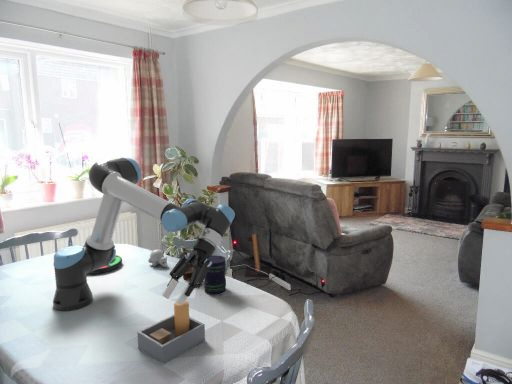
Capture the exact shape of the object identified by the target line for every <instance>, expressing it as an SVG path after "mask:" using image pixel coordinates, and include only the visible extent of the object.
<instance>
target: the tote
mask: <svg viewBox="0 0 512 384" xmlns="http://www.w3.org/2000/svg"><path fill="white" fill-rule="evenodd" d="M189 325H190V331H188V332H186V333H184V334H182V335H180V336H178V337H177V338H175V317H174V314H173V315H171V316H168V317H166V318H164V319H162V320H160V321H158V322H156V323H154V324H151V325H149V326H146V327H145V328H143V329H141V330H138V331H136V332H137V345H138V346H137V347H138V349H139V350H140V351H142V352H143V353H144V354H146V355H148V356H150V357H151V358H152V359H154V360H156V361H157V362H158V363H160V364H162V365H165V364H166V363H168V362H170V361H171V360H173V359H175V358H177V357H178V356H180V355H182V354H184V353H185V352H187V351H189V350H190V349H192V348H194V347H196V346H197V345H199V344H201V343H203V342H205V341H206V334H205V333H206V331H205V330H206V329H205V328H206V327H205V324H204V323H202V322H200V321H198V320H196V319H194V318H193V317H190V316H189ZM161 328H163V329H165V330H166V331H168V332H170V333H171V335H172V340H171V341H169V342H167V343H165V344H163V345H162V344H161V343H159V342H157V341H156V340H154V339H152V338H150V334H151V333H153V332H155V331H157V330H159V329H161Z"/></svg>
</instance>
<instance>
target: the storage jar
mask: <svg viewBox="0 0 512 384" xmlns="http://www.w3.org/2000/svg"><path fill="white" fill-rule="evenodd" d="M209 260H210V261H211V262H212V263H213V265H212V266H211V268H210V269H209V271H208V273H207V275H206V277H205V279H204V281H203V284H204V285H203V286H204V293H206V294H207V295H210V296H220V295H222V294H224V293H225V292H226V291H227V289H226V287H227V277H226V266H227V264H226V257H224V256H222V255H216V254H215V255H212V256H211V257H209Z"/></svg>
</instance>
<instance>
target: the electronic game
mask: <svg viewBox="0 0 512 384" xmlns="http://www.w3.org/2000/svg"><path fill="white" fill-rule="evenodd" d="M122 263H123V258H122V257H121V256H120V255H117V254H116V255H115V258H114V260H113V261H112V262H111V263H109V264H108V265H106V266H104V267H101V268H99V269H97V270H94V271H92V272H89V273H87V274H90V275H91V274H92V275H93V274H94V275H95V274H102V273H106V272H110V271H112V270H114V269H117V267H119V266H120V265H121V264H122Z"/></svg>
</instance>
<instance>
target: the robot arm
mask: <svg viewBox="0 0 512 384" xmlns="http://www.w3.org/2000/svg"><path fill="white" fill-rule="evenodd" d="M141 179H142V169H141V167H140V165H139V163H138V162H137V160H135V159H133V158H131V157H120V158H119V157H118V158H110V159H101V160H100V159H99V160H98V161H97V162H94V163H93V164H92V165H91V167H90V170H89V171H88V180H89V183H90V184H91V186H92V187H93V188H94V189H95V190H97V191H98V192H99V193H100V194H103V195H102V199H101V202H100V206H99V209H98V212H97V216H96V218H95V222H94V224H93V228H92V231H91V234H90V235H88V236H87V237H86V239H85V241H84V245H83V246H82V245H75V244H74V245H71V246H65V247H63V248H61V249H59V250H57V251H56V252H55V253H54V254H53V269H54V278H55V279H54V280H55V288H56V289H55V292H54V295H53V299H52V305H53V309H54V310H57V311H62V312H63V311H64V312H65V311H67V312H68V311H74V310H78V309H82V308H84V307H86V306H88V305H90V304H91V303H92V302H93V300H94V298H93V292H92V291H91V288H90V286H89V284H88V282H87V281H88V279H87V274H88V273H89V272H92V271H94V270H97V269H99V268H101V267H104V266H106V265H108V264H110V263H112V261H113V260H114V258H115V255H117V254H116V253H117V250H116V249H115V248H116V246H115V244H114V240H113V239H112V238H113V236H114V232H115V230H116V226H117V223H118V220H119V218H120V217H119V216H120V214H121V211H122V208H123V205H124V203H126V204H128V205H130V206H132V207H133V208H134V209H138V210H139V211H142V212H143V213H145V214H147V216H148V215H149V216H151V217H152V218H154V219H156V220H158V221H160V222H161V225H162V227H163V228H164V230H165V231H167V232H170V233H175V232H179V231H182V230H184V229H186V228H188V227H190V226H193V225H195V224H197V223H199V224H201V225H204V226H205V227H204V228H203V229H202V231H201V232H200V235H198V236H199V238H197V239H196V241H195V243H194V244H193V245H192V250H190V251H191V252H190V253H187V252H185V251H183V252H184V253H183V255H182V257H181V259H180V258H179V260H178V261H177V262H176V264H175V266H173V268H172V269H171V271H170V272H169V276H170V277H171V279H170V281H169V282H168V283H167V287H166V288H165V290H164V291H163V293H162V297H164V298H165V299H167V300H169V299H170V297H171V295H172V294H173V292H174V291H175V289H176V287H177V286H178V284H179V280H180V279H181V278H183V275H184V274H185V273H186V272H187V271H188V270H189V269H190V268H192V267H193V266H194V270H193V273H192V276H191V279H190V280H189V282H188V283H187V284H186V286H185V287H184V288H183V290H182V292H181V293H180V295H179V297H178V298H177V300H176V302H177V303H178V304H180V305H181V306H183V304H184V302H185V301H187V298H189V297H190V296H191V294H192V293H193V291H194V290H195V289H200V288H201V287H202V285H203V284H204V279H205V277H206V275H207V273H208V271H209V269H210V268H211V266H212V265H213V263H212V262H211V261H210V260H209V257H211V256H213V254H214V253H215V251H216V248H218V246H219V244H221V241H222V239H223V237H224V235H225V234H226V233H227V231H228V229H229V227H230V226H231V225H232V222H233V221H234V219H235V216H236V213H235V211H234V209H232V208H231V207H230V206H229V205H226V204H222V203H220V204H218V205H217V206H216V207H213V206H211V205H209V204H207V203H204V202H202V201H200V200H198V199H194V198H192V197H190V198H187V199H186V200H185V201H184V202H183V203H182V205H181V206H178V205H176V204H174V203H172V202H171V201H168V200H167V199H165V198H162V197H161V196H159V195H157V194H155V193H152V192H151V191H150V190H147V189H145V188H143V187H142V186H139V185H137V184H138V183H139V182H140V181H141ZM176 302H175V303H176Z"/></svg>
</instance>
